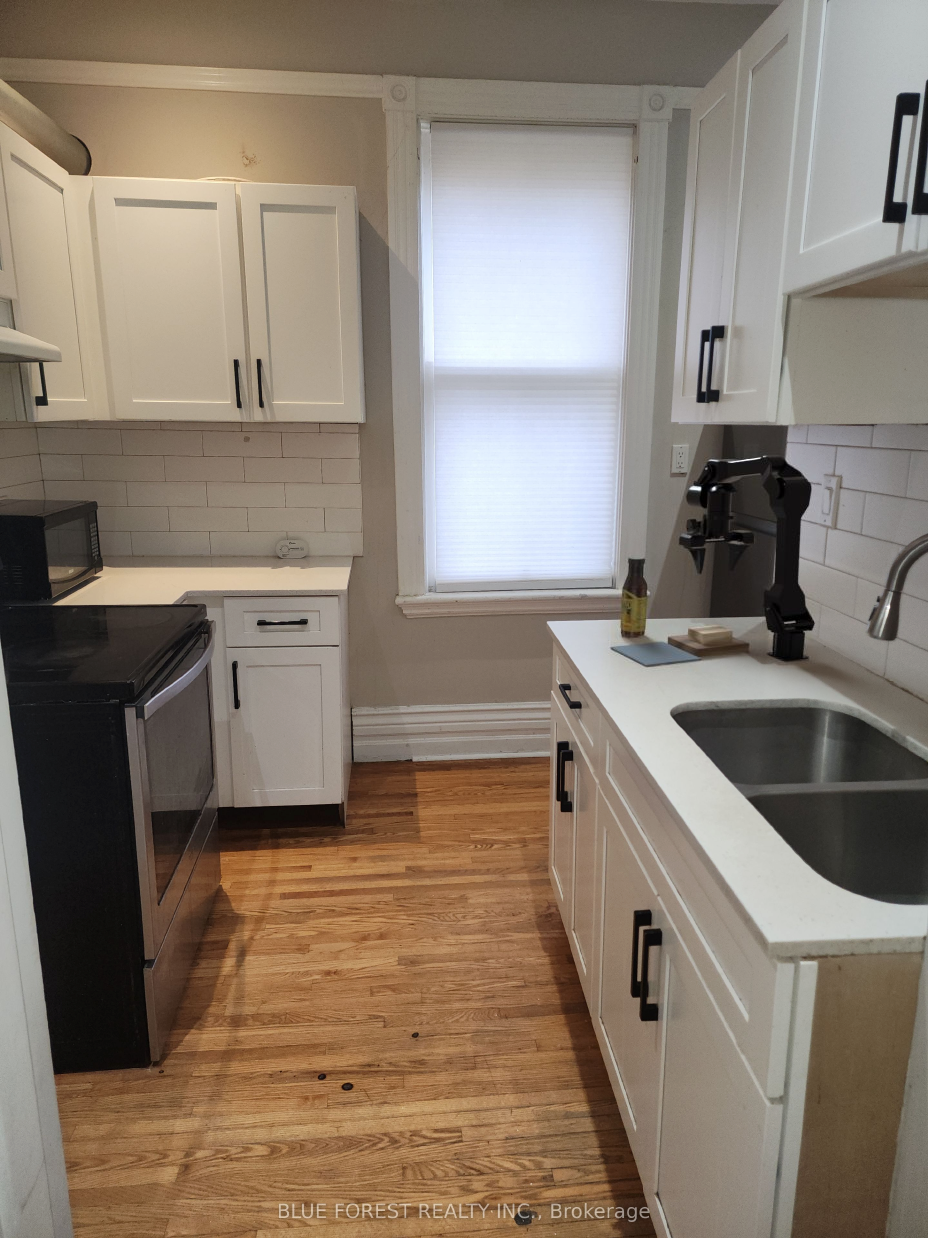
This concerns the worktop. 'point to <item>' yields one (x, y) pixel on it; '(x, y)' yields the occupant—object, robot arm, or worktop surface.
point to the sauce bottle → (634, 599)
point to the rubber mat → (655, 653)
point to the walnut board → (708, 646)
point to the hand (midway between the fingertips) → (715, 572)
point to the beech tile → (710, 634)
